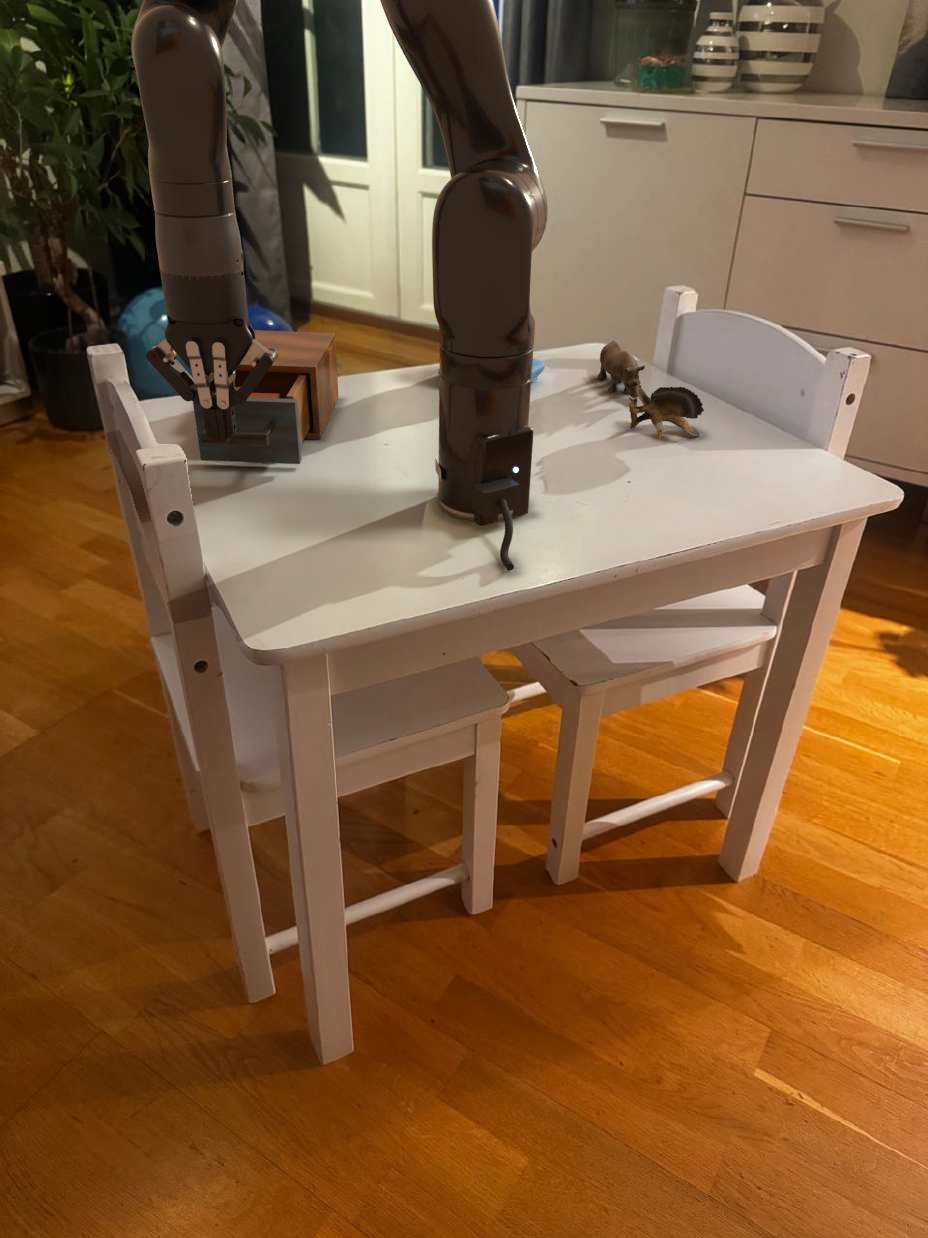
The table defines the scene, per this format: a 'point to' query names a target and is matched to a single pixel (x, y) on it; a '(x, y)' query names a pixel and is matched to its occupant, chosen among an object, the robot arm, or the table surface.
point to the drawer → (264, 422)
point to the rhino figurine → (620, 368)
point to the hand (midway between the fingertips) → (222, 440)
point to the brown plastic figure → (667, 408)
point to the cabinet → (305, 368)
